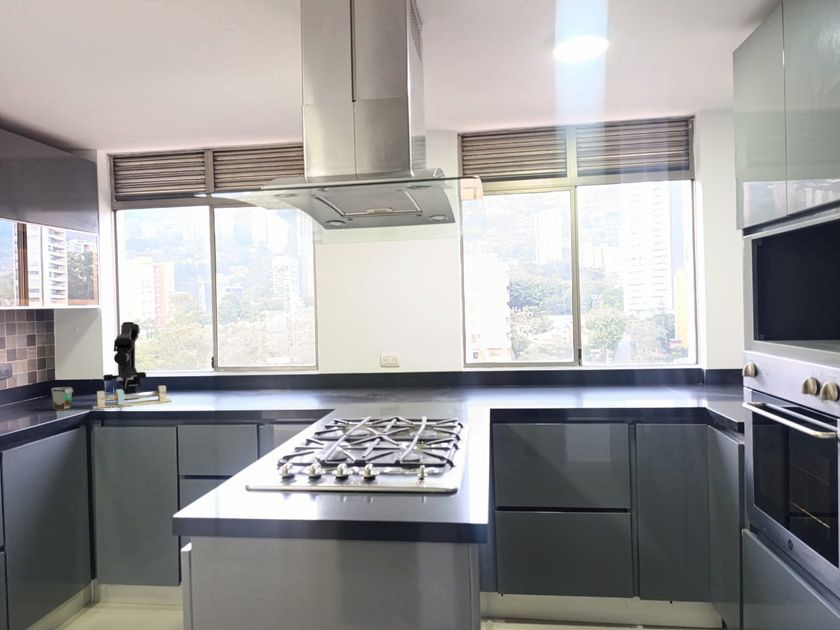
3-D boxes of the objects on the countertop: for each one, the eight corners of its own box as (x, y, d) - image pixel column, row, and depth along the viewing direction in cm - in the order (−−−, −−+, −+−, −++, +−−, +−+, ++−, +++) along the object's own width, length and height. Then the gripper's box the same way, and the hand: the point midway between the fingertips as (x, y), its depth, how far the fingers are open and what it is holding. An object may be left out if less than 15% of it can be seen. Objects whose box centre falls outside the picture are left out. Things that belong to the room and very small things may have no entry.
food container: (79, 408, 280) (78, 387, 280) (66, 410, 275) (65, 389, 275) (65, 406, 286) (64, 386, 286) (52, 408, 281) (51, 388, 281)
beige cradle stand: (92, 407, 281) (91, 391, 281) (168, 399, 299) (167, 384, 299) (93, 410, 273) (92, 393, 273) (171, 402, 291) (170, 386, 291)
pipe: (97, 401, 279) (97, 395, 279) (165, 395, 295) (164, 389, 295) (97, 402, 277) (97, 396, 277) (165, 395, 293) (165, 390, 293)
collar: (116, 401, 289) (115, 389, 289) (121, 401, 291) (121, 388, 291) (118, 404, 280) (117, 391, 280) (124, 403, 281) (123, 391, 281)
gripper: (104, 364, 278) (105, 397, 278) (147, 361, 288) (148, 393, 288) (102, 363, 287) (103, 395, 287) (144, 360, 297) (145, 391, 297)
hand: (125, 393), depth 290 cm, fingers closed
